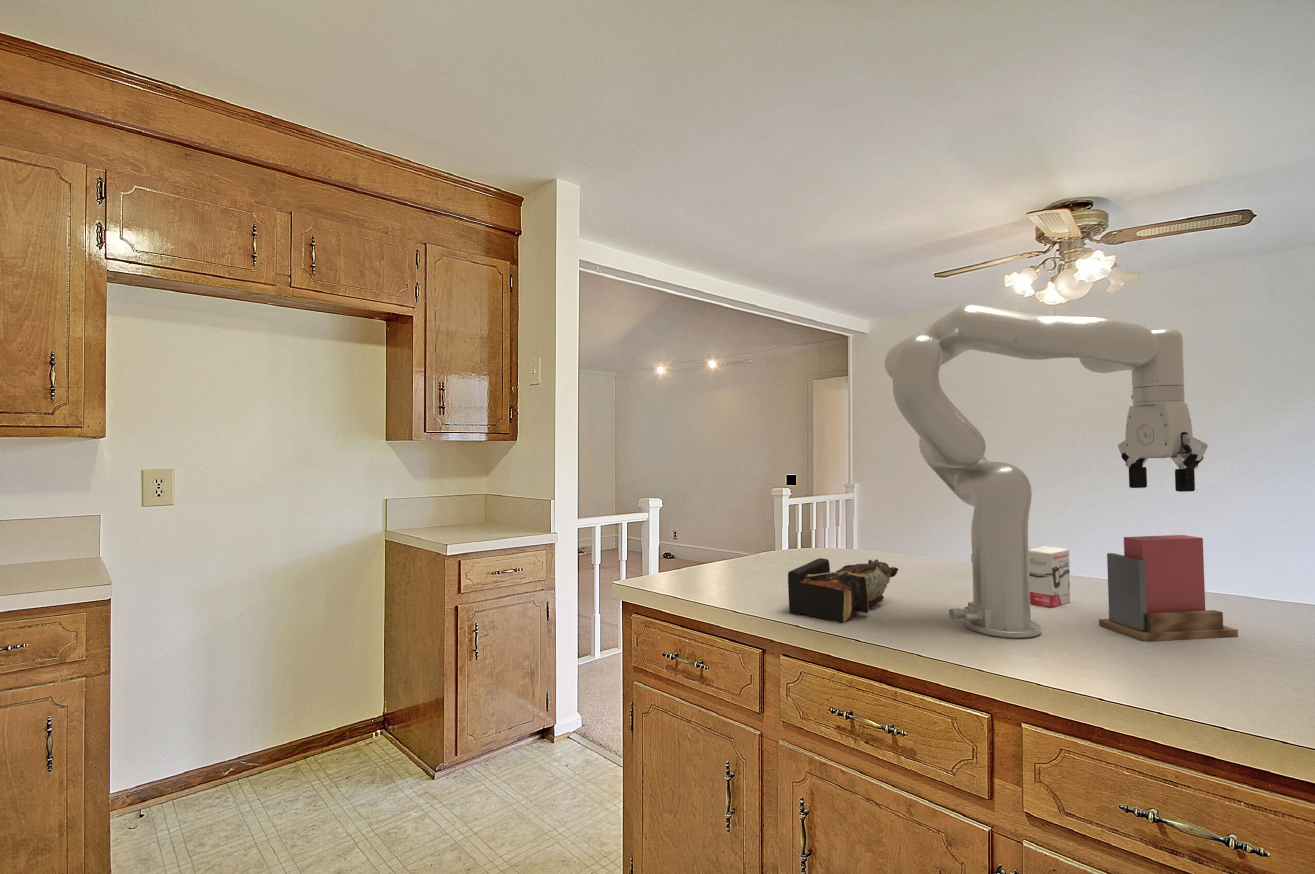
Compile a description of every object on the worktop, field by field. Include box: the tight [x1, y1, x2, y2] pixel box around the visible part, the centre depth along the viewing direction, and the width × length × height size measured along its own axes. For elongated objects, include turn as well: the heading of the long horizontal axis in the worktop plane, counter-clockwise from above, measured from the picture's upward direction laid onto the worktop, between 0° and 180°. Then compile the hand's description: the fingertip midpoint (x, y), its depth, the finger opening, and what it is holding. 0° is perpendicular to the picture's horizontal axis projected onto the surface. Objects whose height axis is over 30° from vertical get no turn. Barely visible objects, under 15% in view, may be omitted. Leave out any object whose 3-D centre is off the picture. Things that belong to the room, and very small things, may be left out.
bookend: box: [787, 557, 899, 624], centre depth 137 cm, size 15×11×25 cm
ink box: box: [1029, 545, 1071, 609], centre depth 137 cm, size 8×5×12 cm, turn 123°
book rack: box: [1098, 609, 1239, 642], centre depth 115 cm, size 18×10×4 cm, turn 95°
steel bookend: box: [1106, 552, 1147, 632], centre depth 115 cm, size 1×7×14 cm, turn 5°
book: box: [1123, 534, 1206, 613], centre depth 115 cm, size 12×4×16 cm, turn 95°
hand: (1160, 489), depth 116 cm, fingers open, 9 cm apart
